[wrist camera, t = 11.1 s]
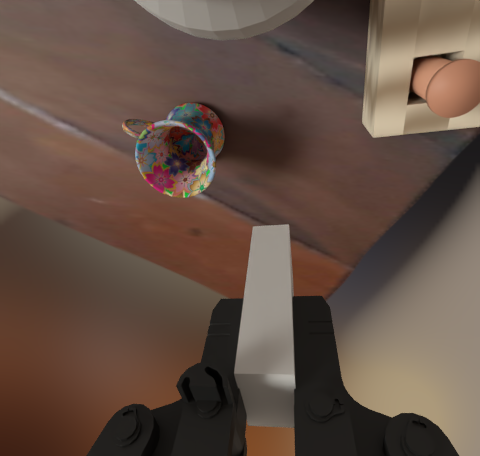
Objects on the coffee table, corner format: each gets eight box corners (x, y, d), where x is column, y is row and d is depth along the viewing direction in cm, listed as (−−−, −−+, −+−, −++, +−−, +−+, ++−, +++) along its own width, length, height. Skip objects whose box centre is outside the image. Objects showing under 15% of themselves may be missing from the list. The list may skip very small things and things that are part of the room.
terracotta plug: (402, 52, 34) (434, 64, 27) (450, 45, 33) (497, 55, 26) (396, 99, 37) (424, 120, 30) (441, 93, 36) (481, 114, 29)
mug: (240, 119, 43) (229, 147, 34) (211, 174, 48) (196, 210, 39) (158, 73, 41) (124, 90, 32) (137, 135, 46) (103, 164, 37)
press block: (378, -117, 29) (397, -143, 24) (512, -149, 27) (563, -184, 22) (362, 122, 41) (373, 137, 36) (454, 112, 39) (479, 126, 34)
